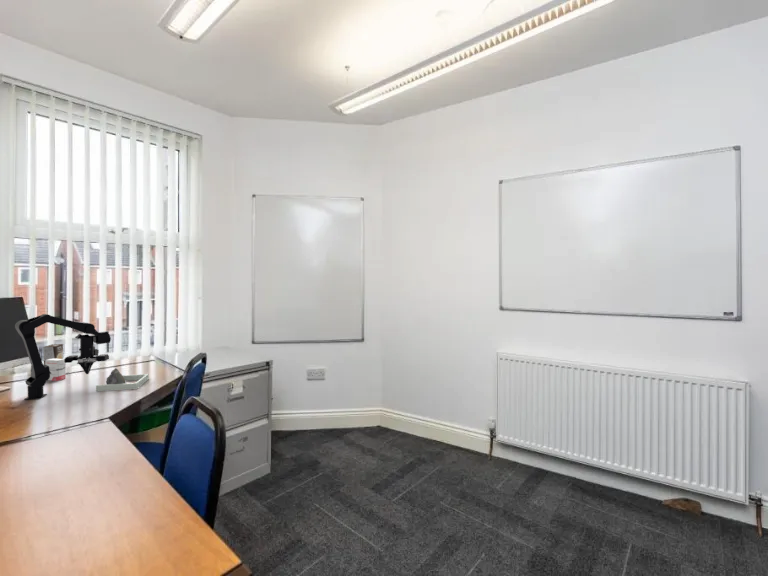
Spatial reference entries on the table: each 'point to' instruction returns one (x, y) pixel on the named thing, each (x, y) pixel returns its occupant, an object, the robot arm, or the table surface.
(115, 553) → the table surface
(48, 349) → the coffee box
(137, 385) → the pale grey u-shaped frame
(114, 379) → the mineral rock
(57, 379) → the ink box
